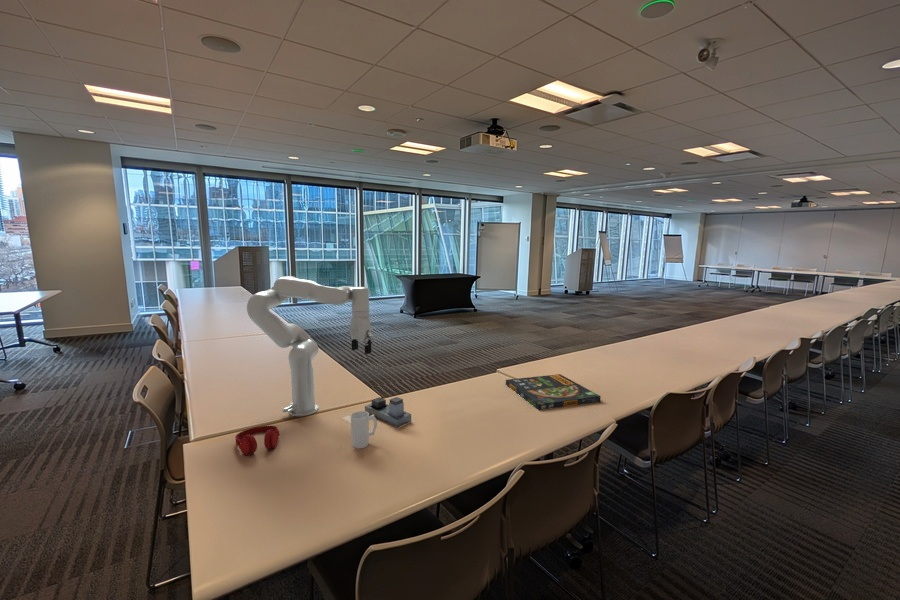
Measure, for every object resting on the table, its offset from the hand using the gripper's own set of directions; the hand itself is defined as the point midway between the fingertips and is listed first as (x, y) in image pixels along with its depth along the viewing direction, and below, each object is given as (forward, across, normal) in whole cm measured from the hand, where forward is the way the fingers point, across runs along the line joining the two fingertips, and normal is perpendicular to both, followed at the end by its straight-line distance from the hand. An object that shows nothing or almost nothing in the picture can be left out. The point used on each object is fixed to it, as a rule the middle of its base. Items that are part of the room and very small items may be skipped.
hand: (361, 351), depth 172 cm
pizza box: (+29, +56, +79) cm, 101 cm away
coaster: (+28, +5, -7) cm, 30 cm away
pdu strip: (+28, +14, +3) cm, 32 cm away
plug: (+27, +20, +3) cm, 34 cm away
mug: (+28, +25, -18) cm, 42 cm away
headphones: (+29, -6, -45) cm, 53 cm away
